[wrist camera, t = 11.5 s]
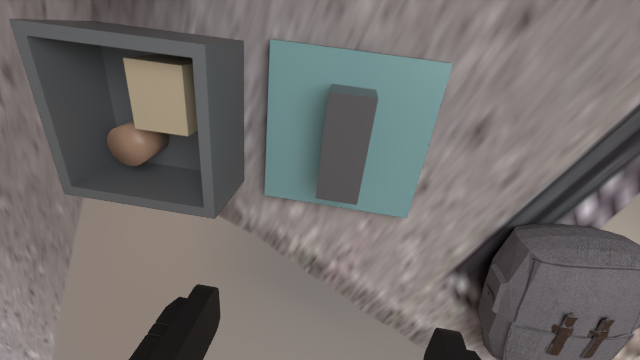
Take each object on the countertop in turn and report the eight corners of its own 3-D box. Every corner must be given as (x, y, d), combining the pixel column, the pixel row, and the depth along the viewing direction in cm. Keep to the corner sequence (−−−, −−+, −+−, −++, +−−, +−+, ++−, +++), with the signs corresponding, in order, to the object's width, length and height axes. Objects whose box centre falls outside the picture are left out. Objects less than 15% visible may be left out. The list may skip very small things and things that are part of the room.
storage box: (94, 21, 30) (9, 18, 22) (243, 40, 29) (204, 44, 22) (122, 161, 36) (64, 193, 29) (244, 180, 35) (214, 218, 28)
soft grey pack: (489, 214, 34) (457, 334, 43) (525, 266, 26) (477, 398, 35) (639, 220, 32) (574, 344, 41) (724, 278, 25) (621, 414, 33)
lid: (275, 38, 29) (256, 40, 23) (446, 61, 28) (467, 69, 22) (269, 186, 36) (253, 214, 31) (404, 208, 35) (412, 240, 30)
